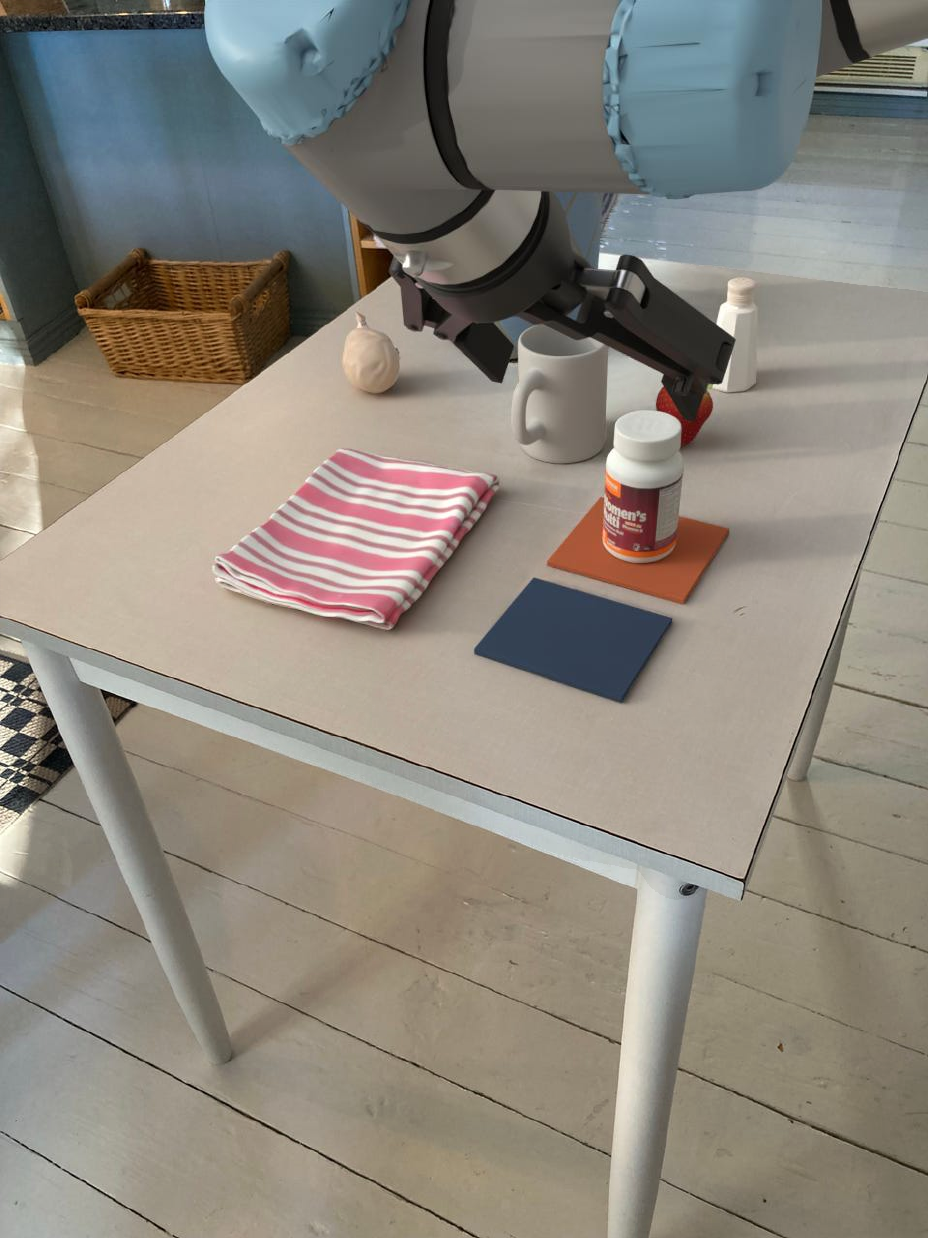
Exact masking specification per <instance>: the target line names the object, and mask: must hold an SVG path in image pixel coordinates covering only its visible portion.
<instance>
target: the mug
mask: <svg viewBox="0 0 928 1238" xmlns="http://www.w3.org/2000/svg"><path fill="white" fill-rule="evenodd" d="M517 367H518V368H517V369H518V370H517V371H518V383H517V384H516V386H515V388H514V391H513V394H512V398H511V407H510V408H511V410H510V418H511V419H510V420H511V428H512V429H511V430H512V432H513V433H512V434H513V437H514V439H515V440H516V441H517V443H518V444H520V447H521V449H522V450H523V452H524V453H525V454H526V455H527V456H529V457H530V458H532V459H535V460H537V461H540V462H545V463H548V464H549V463H550V464H575V463H579V462H582V461H586V460H589V459H591V458H593V457H594V456H596V455H598V454H599V453H600V452H601V451H602V449H604V446H605V444H606V438H607V437H606V435H607V400H608V399H607V395H608V373H609V372H608V371H609V346H607V345H605V344H603V343H601V342H599V341H597V340H595V339H593V338H591V337H589V338H585V339H582V340H574V339H572V338H570V337H568V336H566V335H564V334H562V333H560V332H558V331H556V330H554V329H552V328H550V327H548V326H546V325H544V324H540V325H535V326H532V327H530V328H528V329H527V330H525V331H524V332H523V333H522V334H521V335H520V337H519V340H518V358H517Z"/></svg>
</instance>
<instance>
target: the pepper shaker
mask: <svg viewBox="0 0 928 1238" xmlns="http://www.w3.org/2000/svg"><path fill="white" fill-rule="evenodd" d="M756 287H757V282H756V281H755V280H754V279H752V278H749V277H734V278H731V279H730V280H729V281H728V282H727V293H726V294H727V295H726V297H727V298H726V301H725V302H723V303H721V305H720V307H719V310H718V314H717V315H718V316H717V319H716V324H717V325H718V326H719V327H721V328H722V329H723V330H725V331H726V332H727V333H729V334H730V335H731V336H733V337H734V338H735V339H736V341H735V344H734V348H733V351H732V354H731V357H730V360H729V363H728V366H727V369H726V372H725V376H724V379H723V382H722V383H721V384H718V385H717V384H713V386H712V388H711V389H712V390H716V391H719V392H723V393H726V394H728V393H729V394H730V393H741V392H746V391H748V390H749V389H751V388H752V387H753V386H754V385H756V383H757V358H758V357H757V356H758V355H757V354H758V321H759V318H758V317H759V314H758V313H759V310H758V306H757V305H756V304H755V303H754V297H755V290H756Z"/></svg>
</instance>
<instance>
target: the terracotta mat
mask: <svg viewBox="0 0 928 1238" xmlns="http://www.w3.org/2000/svg"><path fill="white" fill-rule="evenodd" d="M603 519H604V496H600V497H599V498H598V499H597V500H596V502H594V504H593V505H592V506H591V508H589V510H588V511H587V512H586V513H585V515H584V516H583V517H582V518H581V520H580V521H579V522H578V523H577V525H575V527H574V528H573V529H572V531H571V532H569V534H568V535H567V537H566V538H564V540H563V542H561V544H560V545H559V546H558V547H557V549H555V551H554V552H553V553H552V554H551V556H550V557H549V558H548V559H547V561H546V566H548V567H551V568H556V569H559V570H562V571H566V572H570V573H572V574H576V575H580V576H584V577H587V578H591V579H593V580H596V581H600V582H603V583H607V584H612V585H615V586H617V587H622V588H625V589H628V590H632V591H635V592H639V593H643V594H647V595H649V596H654V597H657V598H660V599H663V600H667V601H671V602H674V603H678V604H682V605H684V604H686V601H687V600H688V598H689V597H690V595H691V594H692V592H693V590H694V589H695V587H696V585H697V584H698V582H699V580H700V579H701V578H702V576H703V574H704V573H705V571H706V570H707V568H708V566H709V564H710V563H711V562H712V560H713V558H714V557H715V556H716V554H717V552H718V550H719V549H720V547H721V546H722V544H723V543H724V541H725V539H726V538H727V536H728V535H729V532H730V528H729V527H725V526H720V525H718V524H713V523H709V522H704V521H700V520H696V519H692V518H689V517H685V516H680V515H679V517H678V527H677V537H676V543H675V546H674V549H673V550H672V552H671V553H670V554H668V555H667V556H666V557H664V558H662V559H660V560H657V561H654V562H648V563H632V562H627V561H624V560H621V559H619V558H617V557H615V556H613V555H612V554H611V553H609V551H608V550H607V549H606V548H605V546H604V544H603Z"/></svg>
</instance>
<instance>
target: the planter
mask: <svg viewBox="0 0 928 1238" xmlns="http://www.w3.org/2000/svg"><path fill="white" fill-rule="evenodd" d="M554 193H555V195H556V196H557V198H558V200H559V201H560V203H561V205H562V207H563V209H564V212H565V215H566V219H567V223H568V228H569V234H570V240H571V245H572V249H573V250H574V251H575V252H576V253H577V254H579V255H580V256H582V257H583V258H585V259H586V260H587V261H588V262H589V263H590V265H591V267H593V268H595V269H599V264H600V262H599V261H600V247H601V236H602V235H601V234H602V218H603V205H604V193H585V192H554ZM580 306H581V304H580V305H579V306H578V307H577V308H575V309H574V310H573V311H572V312H571V313H570V314H569V315H567V317H569V318H571V319H573V320H575V321H576V319H577V315H578V312H579V309H580ZM493 323H494V324H495V325H496V326H497V327H498V328H499V329H500V330H501V332H502V333H503V334H504V335H505V336H506V337H507V338H508V339H509V341H510V342H511V343H512V344H513V345H514V348H513V351H512V354H511V357H510V360H515V359H518V340H519V337H520V335H521V334H522V333H523V332H524V331H525V330H527V329H528V328H530V327H532V326H535V325H533V324H531V323H529V322H527V321H525V320H523V319H521V318H519V317H514V316H513V317H510V318H508V319H505V320H501V321H497V322H493Z"/></svg>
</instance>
